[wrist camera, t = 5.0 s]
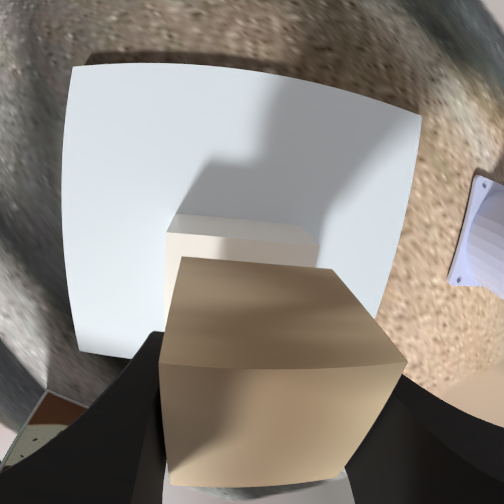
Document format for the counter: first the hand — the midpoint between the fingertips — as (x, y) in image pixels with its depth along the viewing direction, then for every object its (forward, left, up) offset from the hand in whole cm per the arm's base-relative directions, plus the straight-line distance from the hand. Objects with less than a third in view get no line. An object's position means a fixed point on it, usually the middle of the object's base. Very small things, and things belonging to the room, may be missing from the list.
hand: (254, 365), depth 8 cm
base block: (0, +1, -7) cm, 7 cm away
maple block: (0, 0, -2) cm, 2 cm away
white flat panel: (0, -1, -8) cm, 9 cm away
